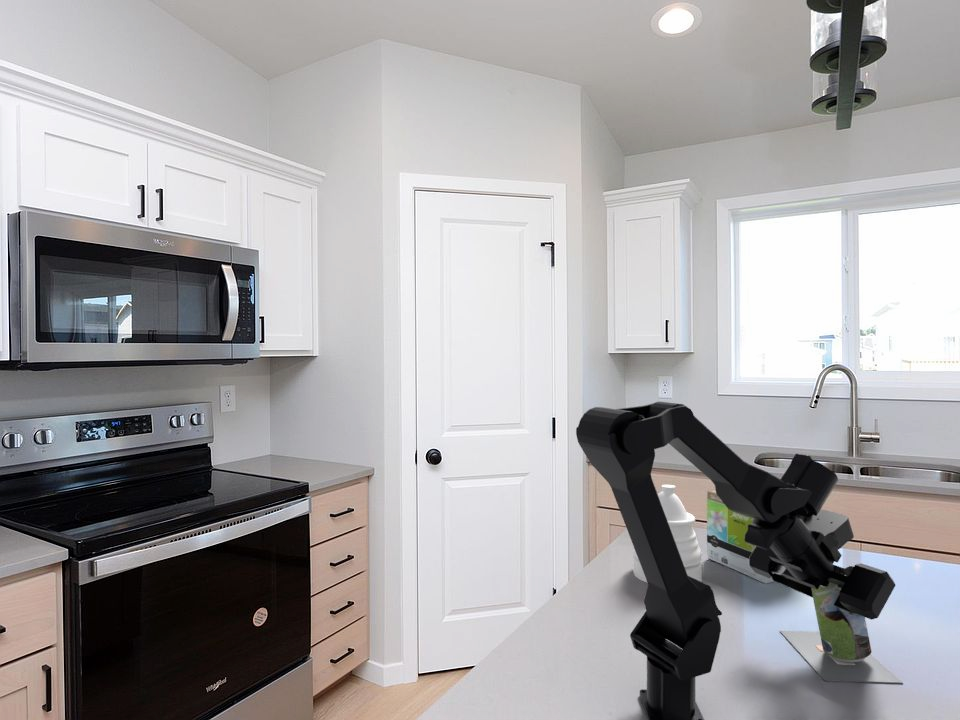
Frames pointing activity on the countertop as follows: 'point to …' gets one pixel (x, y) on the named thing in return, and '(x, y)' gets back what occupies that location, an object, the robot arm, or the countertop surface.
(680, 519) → the honey pot
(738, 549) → the tea box
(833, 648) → the beverage can
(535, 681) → the countertop surface
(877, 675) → the tile
